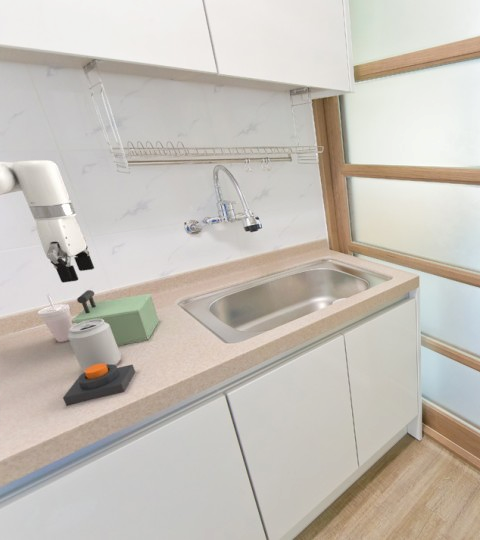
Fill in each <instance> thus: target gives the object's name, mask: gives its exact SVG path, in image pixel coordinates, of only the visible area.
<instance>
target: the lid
mask: <svg viewBox="0 0 480 540" xmlns="http://www.w3.org/2000/svg"><path fill="white" fill-rule="evenodd" d="M94 296H95V292H94V291H93V290H91V289H90V290H89V289H88V290H85V291H84V292H83V293H82V294H81V295H80V296H79V297H77V299H76V302H77V303H79V304H81V305H82V307H83V309H82V311H81V312H80V313H79V314H77V315H76V316H75V317H74V318H72V319H71V322H72V325H73V324H76V323H79V322H83V321H87V320H91V319H103V318H109V317H114V316H120V315H126V314H132V313H138V312H140V310H141V309H142V308H143V306H144V305H145V303H146V302H147V301H148V299H149V298H150V297H152V294H151V293H144V294H138V295H133V296H132V295H131V296H125V297H119V298H113V299H105V300H99V301H95V300H94ZM88 301H89V304H88V303H87V302H88Z"/></svg>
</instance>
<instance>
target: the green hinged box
mask: <svg viewBox="0 0 480 540" xmlns="http://www.w3.org/2000/svg"><path fill="white" fill-rule="evenodd" d="M153 301H154V300H153V297H152V296H151V297H150V298H149V299H148V301H147V302H146V303H145V305H144V306H143V308H142V309H141V310H140V312H138V313H132V314H126V315H120V316H114V317H109V318H103V320H104V322H106V323H108V324H109V325H110V328H111V331H112V333H113V336H114V339H115V341H116V344H117V347H119V346H125V345H130V344H134V343H140V342H145V341H149V340H150V338H151V336H152V334H153V333H154V331H155V329H156V327H157V325H158V324H159V321H160V320H159V316H158V313H157V311H156V307H155V304H154V302H153ZM79 323H80V322H79ZM75 324H78V323H75Z"/></svg>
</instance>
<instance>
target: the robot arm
mask: <svg viewBox="0 0 480 540" xmlns="http://www.w3.org/2000/svg"><path fill="white" fill-rule="evenodd" d="M17 192H22V194H23V196H24V199H25V201H26V203H27V205H28V208H29V211H30V213H31V215H32V218H33V219H34V221H35V224H36V230H37V233H38V237H39V241H40V242H41V243H40V244H41V246H42V249H43V252H44V254H45V256H46V258H47V259H48V260H49V261H50V264H51V265H53V268H54V269H56V272H57V274H58V277H59V279H60V282H61V283H70V282H77V281H78V280H79V277H78V274H77V272H76V269H75V266H74V265H72V262H71V261H72V258H73V259H74V262H75V264H76V266H77V269H78V271H80V272H83V271H84V272H85V271H93V270H94V269H95V266H94V264H93V261H92V257H91V256H90V255H91V254H90V251H89V250H88V248H89V247H88V245H87V241H86V238H85V237H84V235H83V232H82V230H81V227H80V225H79V222H77V219H76V216H77V213H76V210H75V208H74V206H73V203H72V200H71V198H70V195H69V193H68V189H67V187H66V185H65V182H64V179H63V176H62V174H61V171H60V169H59V167H58V164H57V163H55V162H54V161H52V160H48V159H36V160H35V159H31V160H18V161H0V196H1V195H6V194H10V193H17Z"/></svg>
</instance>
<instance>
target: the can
mask: <svg viewBox="0 0 480 540" xmlns="http://www.w3.org/2000/svg"><path fill="white" fill-rule="evenodd" d="M69 331H70V333H69V334H68V338H69V340H68V341H69V343H70V345H71V348H72V350H73V352H74V354H75V358H76V359H77V362H78V364H79V367H80V369H81V371H82V372H83V373H85V370H86V369H87V368H89V367H91V366H93V365H96V364H100V363H105V364H106V365H107V364H112V365H115V366H117V364H119V362H120V361H121V360H122V355H121V352H120V349H119V346H117V344H116V341H115V339H114V336H113V333H112V331H111V328H110V325H109V324H108V323H106V322H104V320H103V319H91V320H87V321H83V322H80V323H78V324H76V323H74V325H72V327H71V328H70V329H69Z"/></svg>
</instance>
